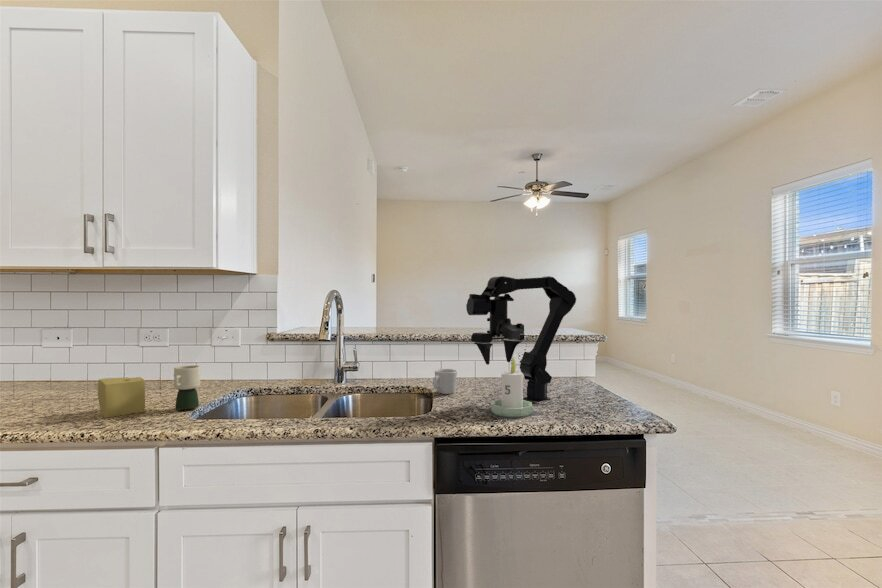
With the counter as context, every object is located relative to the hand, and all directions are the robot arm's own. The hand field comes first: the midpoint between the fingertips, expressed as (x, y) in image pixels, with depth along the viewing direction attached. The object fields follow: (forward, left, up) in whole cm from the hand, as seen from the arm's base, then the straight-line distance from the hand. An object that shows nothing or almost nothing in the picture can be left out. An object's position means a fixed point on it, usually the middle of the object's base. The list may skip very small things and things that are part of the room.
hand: (498, 363), depth 144 cm
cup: (+6, -22, -13) cm, 26 cm away
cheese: (+99, -58, -13) cm, 116 cm away
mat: (+5, +11, -13) cm, 18 cm away
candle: (+5, +11, -12) cm, 17 cm away
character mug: (+83, -50, -13) cm, 98 cm away
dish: (+5, +11, -13) cm, 18 cm away
